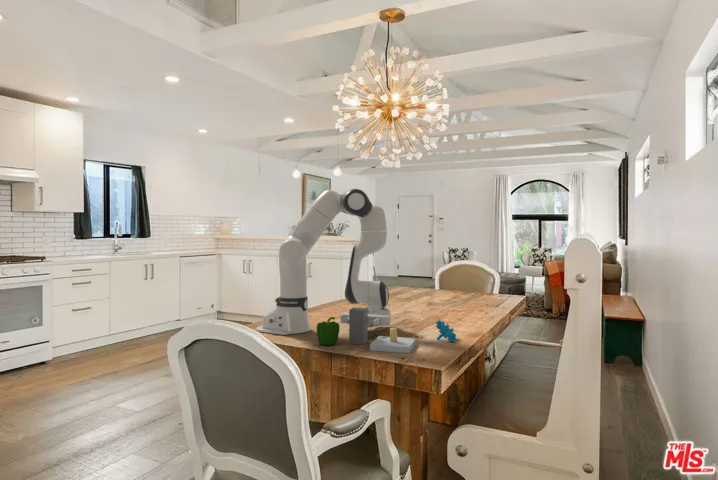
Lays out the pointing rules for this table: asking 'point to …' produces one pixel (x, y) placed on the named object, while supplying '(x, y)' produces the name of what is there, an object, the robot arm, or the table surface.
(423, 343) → the table surface
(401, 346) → the base plate
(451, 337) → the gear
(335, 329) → the bell pepper
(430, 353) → the table surface
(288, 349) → the table surface
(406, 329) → the table surface
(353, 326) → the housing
